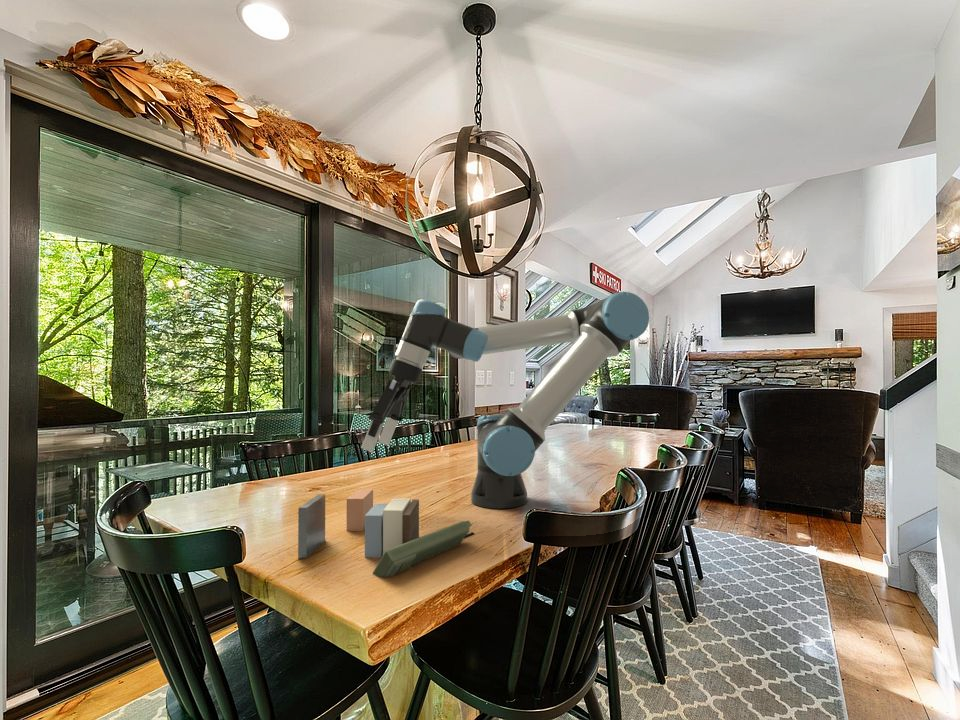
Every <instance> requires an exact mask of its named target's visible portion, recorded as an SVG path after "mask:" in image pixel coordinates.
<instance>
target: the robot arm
mask: <svg viewBox="0 0 960 720" xmlns="http://www.w3.org/2000/svg"><path fill="white" fill-rule="evenodd" d="M446 312H447V311H446V309H445V307H443V306H442V305H440V304H437V303H436V302H434V301H431V300H429V299H424V298H422V299H421V298H420V299H418V300H417V301H415V305H414V306H413V309H412V311H411V313H410V314H409V317H408V320H407V323H406V326H405V328H404V331H403V334H402V336H401V339H400V341H399V343H397V344H396V346H395V347H396V351H395V353H394V356H395V357H396V358H393V359H392V361H391V363H390V366H389V368H388V373H389V374H391V375H393V376H394V378H393V379H392V378H389V379H388V381H387V384H386V386H385V388H384V390H383V392H382V393H381V395H380V397H379V399H378V401H377V403H376V404H375V407H374V408H373V410H372V412H371V413H370V414H369V415H368V420H371V421H370V424H369V426H368V428H367V432H366V434H365V436H364V439H363V440H362V444H361V446H360V449H363V450H365V451H367V452H370V453H373V452H374V450H375V447H376V445H377V443H380V444H382V445H384V446H387V447H388V446H389V445H390V443H391V441H392V439H393V435H394V433H395V430H396V427H397V426H398V422H399V423H400V422H401V423H402V420H403V414H404V411H405V407H406V403H407V399H408V396H409V393H410V389H411V387H412V383H414V384H418V383H419V381H420V379H421V376H422V373H423V369H422V367H425V366H426V364H427V361H428V359H429V356H430V354H431V351H432V347H433V346H434V347H435V348H438V349H441V350H443V351H446V352H448V354H449V355H450V356H451V357H453V358H454V359H459V360H460V359H465V360H466V361H467V360H469V361H472V362H474V363H475V362H479V361H480V359H481V358H482V356H483V355H489V354H496V353H503V352H509V351H517V350H525V349H532V348H536V347H537V348H539V347H544V346H545V347H546V346H551V345H558V344H565V343H570V344H571V345H570V346H569V347H568V349H567V350H566V351H565V352H564V353H563V354H562V356H561V357H560V358H559V359H558V360H557V361H556V363H555V364H554V365H553V366H552V367H551V368H550V369H549V370H548V372H547V373H546V374H545V375H544V376H543V377H542V378H541V380H540V381H539V382H538V383H537V384H536V385H535V387H534V388H533V389H532V390H531V391H530V392H529V393H528V395H527V396H526V397H525V398H524V399H523V400H522V401H521V402H520V404H519V405H518V406H517V407H508V408H507V409H506V410H505V412H504V413H502V414H493V415H491V414H490V415H489V414H488V415H481V416H479V417H478V418H477V422H476V423H477V424H476V430H477V435H476V436H477V438H476V439H477V473H476V477H475V480H474V483H473V486H472V489H471V495H470V497H471V499H470V500H471V503H472V504H474V505H476V506H478V507H482V508H488V509H501V510H502V509H512V508H517V507H521V506H524V505H526V504H527V503H528V491H527V488H526V485H525V481H524V479H523V476H522V474H523V472H525V471H526V470H528V469H529V467H530V466H531V465H532V463H533V461H534V458H535V454H536V452H537V450H538V449H539V448H540V447H541V445H543V444H544V442H545V441H546V433H545V432H546V430H547V429H548V427H550V425H551V424H552V423H553V421H554V420H555V419H557V417H558V416H559V414H560V413H561V412H562V411H563V410H564V409H565V407H566V406H567V405H568V404H569V403H570V402H571V401H572V399H574V397H575V396H576V395H577V394H578V393H579V391H581V389H582V388H583V387H584V386H585V384H587V382H588V381H589V380H590V378H591V377H593V375H594V374H595V373H596V372H597V371H598V369H599V368H600V367H601V366H602V364H603V363H605V361H606V360H607V359H608V358H611V357H617V356H618V355H619V354H620V353H621V352H622V351H623V350H624V348H625V347H626V346H627V345H628V344H629V343H630V342H631V341H633V340H636V339H638V338H639V337H640V336H642V335H643V334H644V333H645V332H646V330H647V329H648V326H649V322H650V312H649V309H648V306H647V304H646V302H645V301H644V300H643V299H642V298H641V297H640V296H639V295H637V294H635V293H633V292H631V291H620V292H619V291H618V292H615V293H612V294H610V295H608V296H607V297H605V298H603V299H601V300H599V301H597V302H594V303H592V304H590V305H588V306H585V307H582V308H578V309H573V310H572V309H570V310H569V311H568V312H567V313H566V314H563V315H556V316H551V317H550V316H549V317H543V318H535V319H528V320H522V321H514V322H508V323H501V324H494V325H486V326H479V327H471V326H469V325H466V324H464V323H461V322H458V321H455V320H453V319H451V318H449V317H447V316H446ZM410 382H411V383H410ZM388 415H389V417H387V416H388ZM385 420H386V421H385ZM384 422H385V423H384Z"/></svg>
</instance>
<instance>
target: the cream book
mask: <svg viewBox="0 0 960 720" xmlns="http://www.w3.org/2000/svg"><path fill="white" fill-rule="evenodd" d="M411 502H412V499H411V497H408V498H407V497H404V498H403V497H401V498H398V497H396V498H395V497H393V498H392V499H391V500H390V501H389V503H387V504H388V505H387V506H386V508H385V509H384V510H383V555H384V553H385V551H386V550H388V549H391V548H393V547H396V546H398V545H401V544H403V514H404V513H405V511H406V510H407V508H408V506H409V505H410V503H411ZM383 555H382V556H383Z"/></svg>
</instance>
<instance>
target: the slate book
mask: <svg viewBox="0 0 960 720" xmlns="http://www.w3.org/2000/svg"><path fill="white" fill-rule="evenodd" d="M388 504H389V503H375V504H373V507H372V508H371V509H370V510H369V512H368V513H367V514H366V515H365V529H364V558H382V556H383V510H384V509H385V508H386V506H387V505H388Z"/></svg>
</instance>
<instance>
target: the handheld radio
mask: <svg viewBox="0 0 960 720" xmlns="http://www.w3.org/2000/svg"><path fill="white" fill-rule="evenodd" d="M471 527H473V525H472V523H471V522H470V520H465V521H464V520H461V521H458V522H456V523H454V524H451V525H449V526H446V527H443V528H441V529H437V530H435V531H432V532H430V533H427V534H424V535H422V536H419V538H416V539H414V540H411V541H409V542H406V543H404V544H401V545H398V546H396V547H393V548H391V549H388V550H386V551H385V553H384V555H382V557H380V559H379V561H378V563H377V565H376V566H375V568H374V570H373V571H372V575H375V576H377V577H379V578H391V577H393V576H395V575H397V574H399V573H401V572H404V571H406V570H408V569H410V567H412V566H414V565H416V564H418V563H421V562H423V561H425V560H427V559H429V558H431V557H434V556H437V555H438V554H441V553H443V552H445V551H447V550H448V551H449V550H450V549H452V548H455V547H456V546H459V545H461V543H462V542H463V541H464V540H465V539H466V538H469V537H472V536H474V535H475V534H476V533H475V532H470V528H471ZM469 532H470V533H469Z"/></svg>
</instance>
